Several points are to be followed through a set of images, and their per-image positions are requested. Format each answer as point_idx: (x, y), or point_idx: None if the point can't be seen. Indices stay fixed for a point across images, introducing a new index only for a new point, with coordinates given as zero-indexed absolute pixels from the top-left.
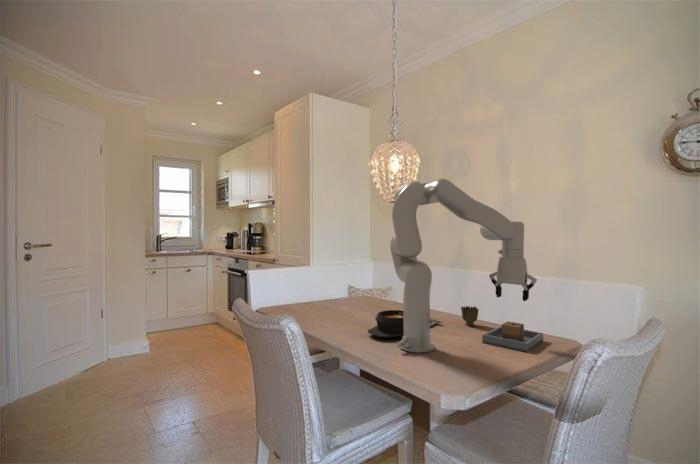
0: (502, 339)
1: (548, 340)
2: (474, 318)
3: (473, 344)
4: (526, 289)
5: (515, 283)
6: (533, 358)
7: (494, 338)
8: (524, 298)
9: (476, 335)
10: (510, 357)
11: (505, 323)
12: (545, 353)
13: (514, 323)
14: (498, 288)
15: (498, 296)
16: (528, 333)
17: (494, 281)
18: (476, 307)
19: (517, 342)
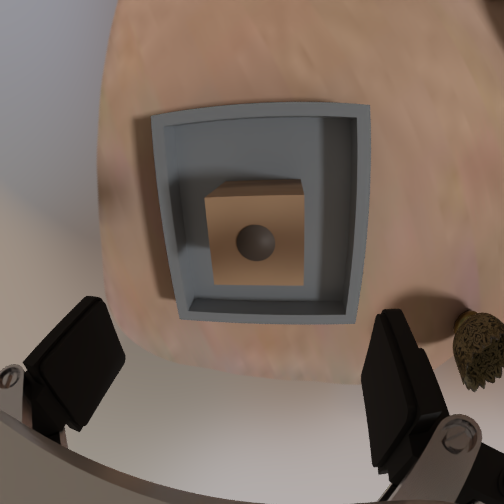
0: (263, 103)
1: (181, 319)
2: (462, 332)
3: (375, 62)
4: (15, 376)
5: (11, 431)
6: (129, 74)
7: (305, 102)
8: (75, 306)
9: (420, 203)
10: (189, 19)
11: (294, 227)
12: (122, 160)
13: (253, 259)
14: (408, 399)
15: (378, 315)
16: (231, 308)
17: (490, 485)
18: (469, 388)
19: (191, 109)
